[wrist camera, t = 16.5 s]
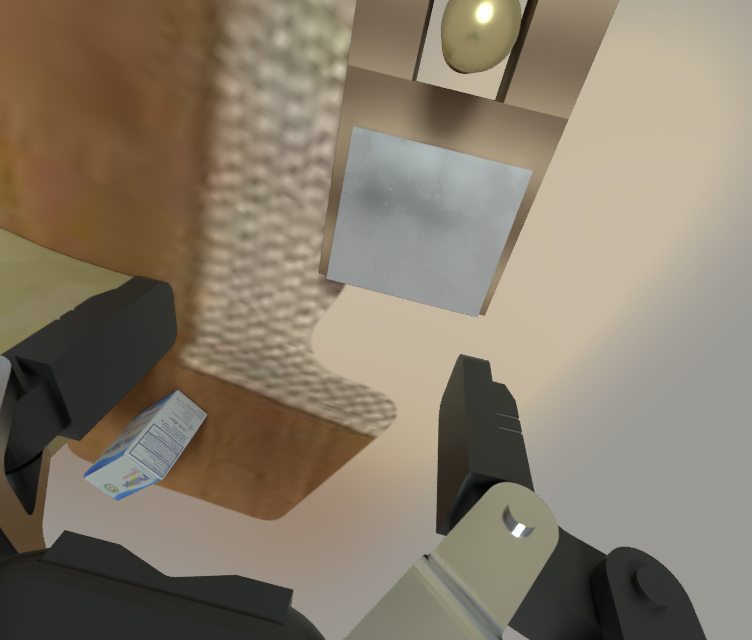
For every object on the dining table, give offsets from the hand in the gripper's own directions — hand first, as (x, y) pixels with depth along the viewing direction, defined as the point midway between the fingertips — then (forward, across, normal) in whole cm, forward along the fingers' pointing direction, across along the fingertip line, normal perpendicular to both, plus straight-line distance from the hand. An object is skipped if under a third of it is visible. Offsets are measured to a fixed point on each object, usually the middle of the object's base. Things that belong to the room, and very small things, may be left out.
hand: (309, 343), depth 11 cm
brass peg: (+20, -3, -8) cm, 22 cm away
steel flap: (+15, -3, +1) cm, 15 cm away
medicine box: (+19, +19, +30) cm, 41 cm away
